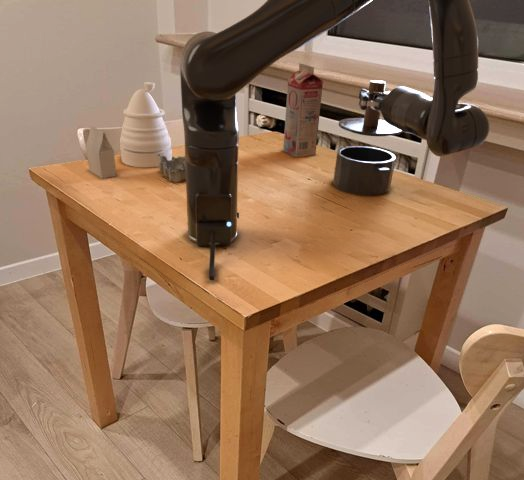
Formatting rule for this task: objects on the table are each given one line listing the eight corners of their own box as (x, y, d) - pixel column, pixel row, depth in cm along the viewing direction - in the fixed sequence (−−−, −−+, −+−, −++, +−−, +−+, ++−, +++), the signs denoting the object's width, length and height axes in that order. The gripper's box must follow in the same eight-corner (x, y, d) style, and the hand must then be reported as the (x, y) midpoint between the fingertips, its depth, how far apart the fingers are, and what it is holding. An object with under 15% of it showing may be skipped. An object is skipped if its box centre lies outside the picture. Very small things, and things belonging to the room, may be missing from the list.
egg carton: (157, 169, 130) (156, 152, 128) (186, 167, 133) (185, 150, 130) (169, 183, 122) (168, 165, 120) (200, 180, 125) (199, 162, 123)
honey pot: (167, 151, 143) (163, 78, 132) (176, 166, 133) (172, 88, 122) (119, 153, 139) (111, 78, 129) (124, 168, 129) (116, 88, 119)
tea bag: (102, 178, 123) (96, 133, 117) (89, 170, 127) (83, 127, 121) (116, 175, 125) (111, 131, 119) (103, 168, 129) (98, 125, 123)
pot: (353, 201, 119) (358, 168, 114) (320, 174, 133) (323, 144, 129) (405, 197, 122) (412, 165, 118) (368, 172, 137) (373, 142, 132)
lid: (355, 139, 113) (363, 87, 107) (327, 123, 124) (333, 75, 118) (414, 137, 117) (424, 88, 111) (382, 122, 128) (390, 76, 122)
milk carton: (295, 157, 145) (302, 67, 132) (283, 150, 149) (289, 63, 136) (315, 154, 147) (324, 66, 134) (302, 148, 152) (310, 62, 139)
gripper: (443, 90, 105) (400, 75, 118) (381, 90, 101) (343, 75, 114) (434, 129, 109) (393, 111, 122) (374, 131, 105) (338, 112, 118)
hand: (369, 94), depth 118 cm, fingers closed on lid, 3 cm apart
